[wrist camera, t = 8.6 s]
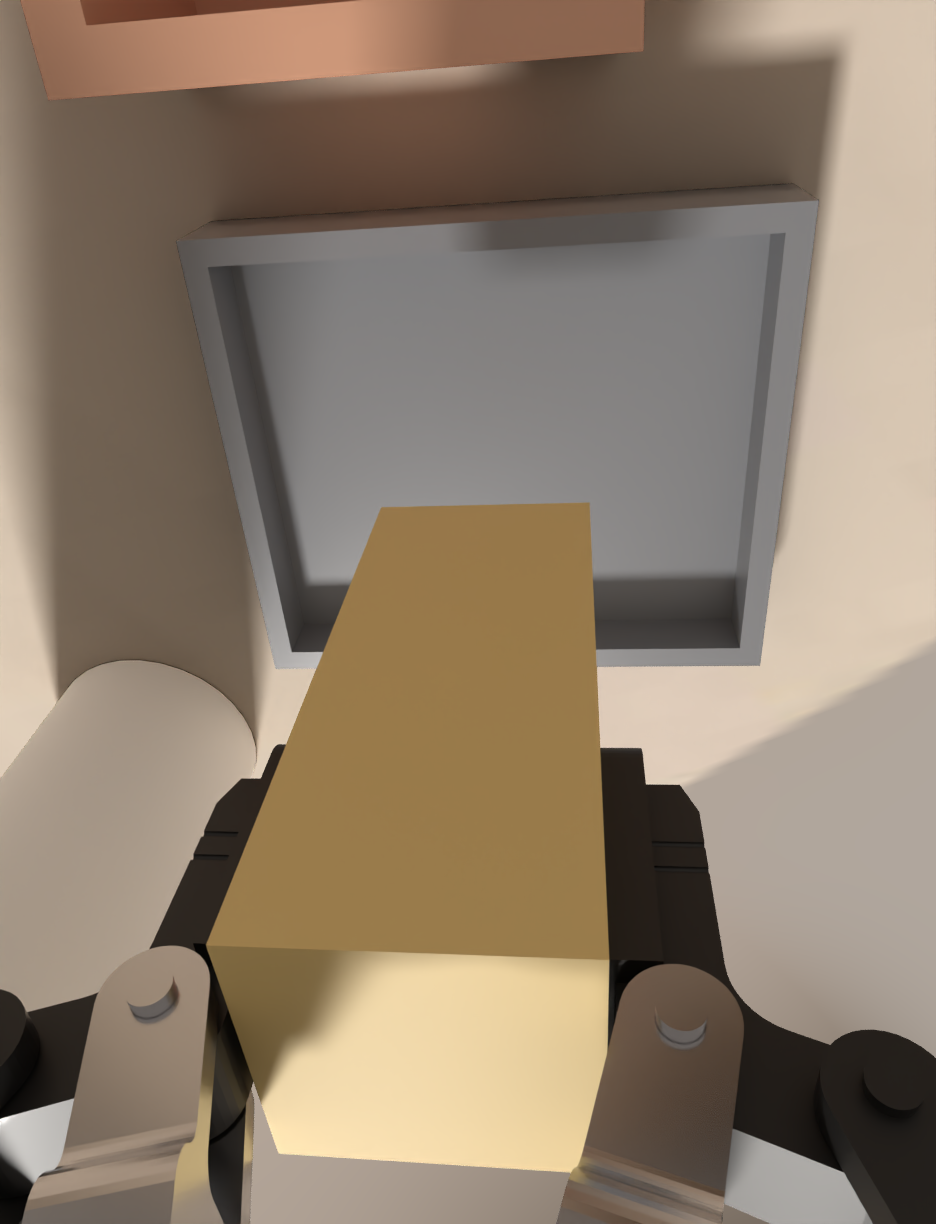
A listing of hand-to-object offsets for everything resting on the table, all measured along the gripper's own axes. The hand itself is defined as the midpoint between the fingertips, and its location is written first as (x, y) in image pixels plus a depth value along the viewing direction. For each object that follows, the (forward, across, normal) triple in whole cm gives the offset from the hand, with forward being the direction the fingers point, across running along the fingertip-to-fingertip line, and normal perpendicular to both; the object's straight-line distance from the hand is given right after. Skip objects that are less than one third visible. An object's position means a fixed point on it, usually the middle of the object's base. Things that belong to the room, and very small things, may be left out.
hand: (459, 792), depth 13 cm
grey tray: (+14, 0, 0) cm, 14 cm away
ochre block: (+6, 0, 0) cm, 6 cm away
